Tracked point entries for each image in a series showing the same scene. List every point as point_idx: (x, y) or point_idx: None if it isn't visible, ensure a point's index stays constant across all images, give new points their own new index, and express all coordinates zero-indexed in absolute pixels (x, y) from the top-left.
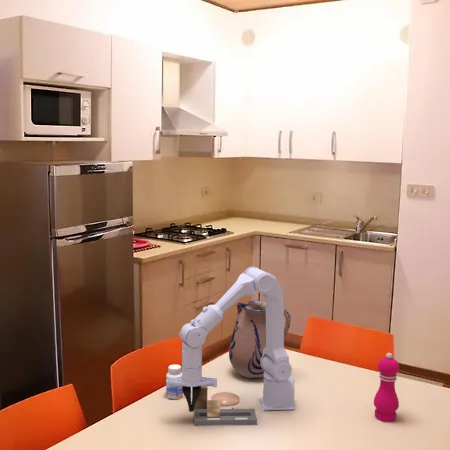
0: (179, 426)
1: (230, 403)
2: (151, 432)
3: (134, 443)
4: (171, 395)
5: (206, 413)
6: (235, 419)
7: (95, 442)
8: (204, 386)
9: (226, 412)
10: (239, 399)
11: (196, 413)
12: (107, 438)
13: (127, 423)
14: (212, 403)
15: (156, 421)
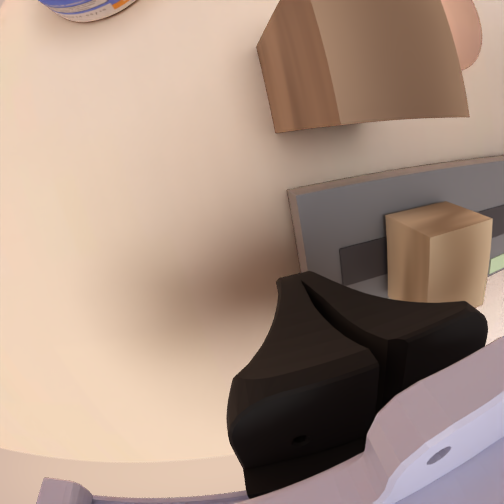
0: (229, 348)
1: (461, 59)
2: (124, 406)
3: (112, 456)
4: (78, 15)
5: (382, 247)
6: (489, 274)
7: (19, 444)
8: (440, 72)
9: (470, 208)
10: (480, 25)
11: (320, 255)
12: (26, 432)
13: (4, 352)
14: (456, 280)
15: (92, 323)
